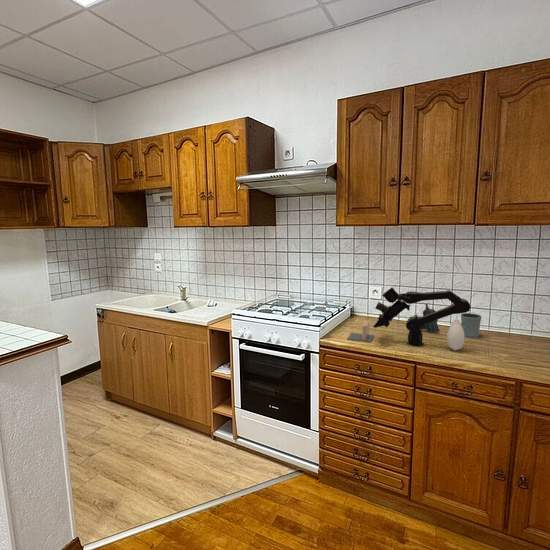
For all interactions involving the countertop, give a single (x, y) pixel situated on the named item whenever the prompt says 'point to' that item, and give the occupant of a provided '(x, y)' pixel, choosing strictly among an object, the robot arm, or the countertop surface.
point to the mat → (360, 337)
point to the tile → (365, 330)
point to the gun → (431, 325)
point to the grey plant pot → (470, 324)
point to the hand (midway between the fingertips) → (374, 327)
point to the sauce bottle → (455, 335)
